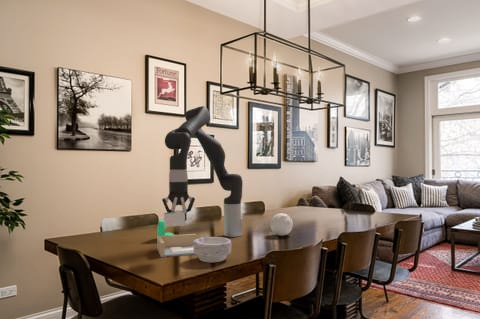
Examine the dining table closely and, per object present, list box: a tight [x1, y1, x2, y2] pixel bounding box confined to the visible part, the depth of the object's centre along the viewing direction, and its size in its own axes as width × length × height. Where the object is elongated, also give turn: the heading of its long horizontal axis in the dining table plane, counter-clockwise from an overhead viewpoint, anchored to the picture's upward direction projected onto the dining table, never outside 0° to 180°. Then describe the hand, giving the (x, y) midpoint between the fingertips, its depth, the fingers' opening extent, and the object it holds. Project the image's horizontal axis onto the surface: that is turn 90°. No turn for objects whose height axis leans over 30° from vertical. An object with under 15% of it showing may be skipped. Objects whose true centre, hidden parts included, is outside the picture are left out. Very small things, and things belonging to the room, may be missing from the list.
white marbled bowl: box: [193, 236, 232, 264], centre depth 149 cm, size 15×15×8 cm
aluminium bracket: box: [163, 209, 186, 228], centre depth 151 cm, size 10×8×5 cm
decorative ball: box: [270, 212, 294, 237], centre depth 200 cm, size 12×12×12 cm
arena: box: [156, 233, 198, 258], centre depth 164 cm, size 18×16×6 cm
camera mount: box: [156, 219, 175, 237], centre depth 190 cm, size 12×8×10 cm, turn 25°
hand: (178, 222), depth 153 cm, fingers closed on aluminium bracket, 3 cm apart
